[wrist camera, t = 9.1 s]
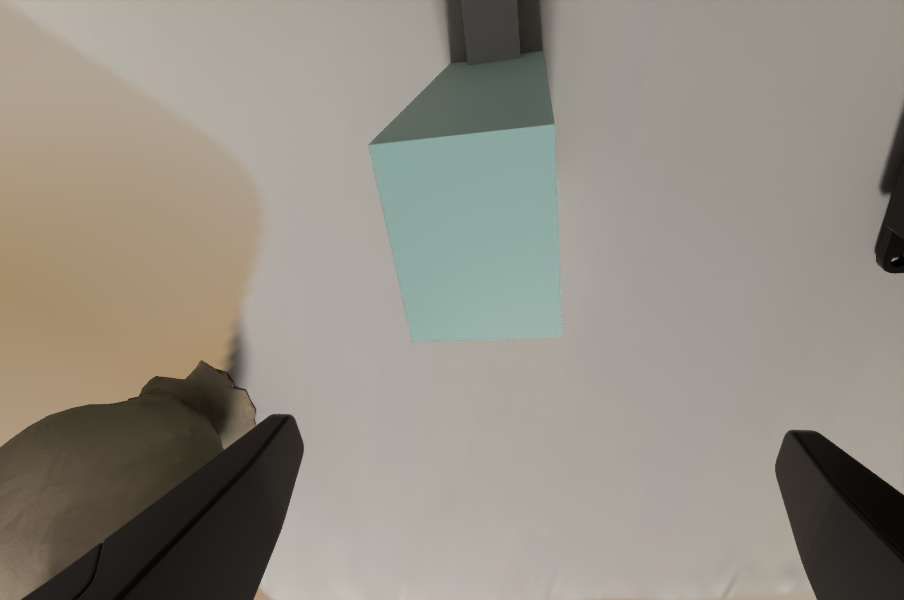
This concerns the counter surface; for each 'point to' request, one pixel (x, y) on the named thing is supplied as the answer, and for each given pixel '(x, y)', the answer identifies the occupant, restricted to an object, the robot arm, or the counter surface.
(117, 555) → the robot arm
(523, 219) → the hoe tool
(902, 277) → the counter surface
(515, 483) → the counter surface
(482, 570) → the counter surface
